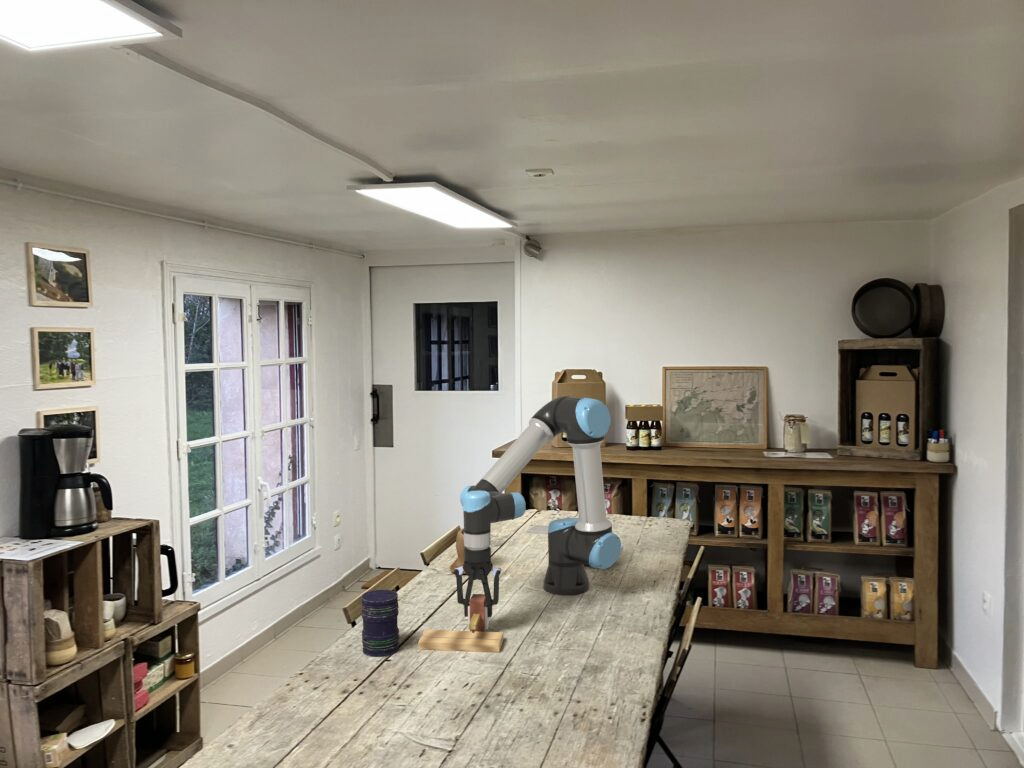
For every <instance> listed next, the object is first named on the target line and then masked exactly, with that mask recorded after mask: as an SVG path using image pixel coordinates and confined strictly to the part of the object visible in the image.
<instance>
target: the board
mask: <svg viewBox="0 0 1024 768" xmlns="http://www.w3.org/2000/svg"><path fill="white" fill-rule="evenodd" d="M503 642H504V632H503V631H501V632H500V631H498V632H497V631H485V632H477V631H475V633H472V631H470V630H469V631H468V630H445V629H444V630H442V629H425V630H424V631H423V634H422V635H421V636H420V638H419V640H418V641H417V649H418V650H421V651H422V650H424V651H445V652H446V651H450V652H451V651H453V652H475V653H477V652H479V653H500V652H501V648H502V645H503Z"/></svg>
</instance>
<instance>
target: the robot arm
mask: <svg viewBox="0 0 1024 768" xmlns="http://www.w3.org/2000/svg"><path fill="white" fill-rule="evenodd" d="M611 420H612V418H611V414H610V411H609V409H608V407H607V406H606V404H605V403H604V402H603V401H601V400H599V399H595V398H592V397H582V396H580V397H579V396H570V395H569V396H568V395H565V396H564V395H563V396H559V397H556V398H553V399H551V400H550V401H549V402H547V403H546V404H544V405H543V406H541V408H539V409H538V410H537V412H535V414H533V416H532V417H531V418H530V419H529V420H528V426H527V427H526V428H525V429H524V431H523V432H522V433H521V434H519V436H518V437H517V439H516V440H515V441H513V442H512V444H511V445H510V446H509V447H508V448H507V449H506V450H505V452H503V454H502V455H501V456H500V457H499V458H498V460H497V461H496V462H495V463H494V464H493V465H492V466H491V467H490V468H489V470H488V471H487V472H486V473H485V474H484V475H483V477H481V479H479V481H478V482H477V483H476V484H475V485H473V484H472V485H468V486H465V487H464V488H463V489H462V490H461V493H460V495H459V499H460V500H459V501H460V504H461V506H462V509H463V510H462V511H463V528H464V546H465V548H464V564H463V566H462V567H456V568H455V570H454V572H453V574H454V575H455V579H456V597H457V598H456V599H457V604H459V605H463V611H464V612H463V613H464V617H466V618H467V630H469V623H470V602H469V601H470V599H471V597H472V591H473V586H474V581H476V580H478V581H481V585H482V588H483V593H484V594H485V598H486V603H487V604H486V605H485V631H488V629H489V625H490V624H489V623H490V619H489V618H492V615H493V606H496V605H497V604H498V603H499V599H500V597H499V595H500V576H501V573H502V568H500V567H498V568H497V567H494V566H493V563H492V548H491V547H490V546H491V544H492V543H491V542H492V541H491V537H492V536H491V535H492V534H491V532H492V531H491V529H492V527H491V526H492V525H491V524H495V523H499V522H500V523H501V522H507V521H511V520H512V521H513V520H515V519H516V520H517V519H519V518H522V517H523V516H524V514H525V513H526V509H527V508H526V503H527V502H526V501H525V497H524V496H523V495H522V494H521V493H519V492H517V491H516V492H511V491H510V492H508V493H503V492H505V490H506V489H507V488H508V486H510V484H511V483H512V482H513V481H514V479H515V478H516V477H517V476H518V475H519V474H520V473H521V471H522V470H523V469H524V468H525V467H526V466H527V465H528V463H529V462H531V460H532V459H533V458H534V456H535V455H537V453H538V452H539V451H540V450H541V449H542V448H543V446H544V445H545V444H546V443H547V442H551V441H553V440H554V439H555V437H556V436H557V435H560V434H566V443H567V444H568V445H569V446H571V448H572V456H573V467H574V477H575V489H576V490H575V491H576V499H577V501H576V502H577V509H578V510H577V511H578V517H564V518H557V519H553V520H551V521H550V522H549V523H548V525H547V526H548V534H547V547H548V548H547V551H548V552H547V554H548V555H547V556H548V560H547V561H548V564H547V568H546V571H545V574H544V578H543V584H542V585H543V590H544V591H545V592H548V593H550V594H554V595H562V596H570V595H571V596H572V595H579V594H583V593H586V592H587V591H588V590H590V581H589V578H588V574H587V572H586V568H585V566H584V565H585V564H586V566H590V567H591V568H594V569H600V570H605V569H608V568H610V567H612V566H613V565H614V564H615V563H616V562H617V561H618V559H619V558H620V557H619V554H620V551H621V543H622V541H621V538H620V537H619V536H618V535H617V534H616V533H614V532H613V525H612V522H611V520H610V519H608V518H607V510H606V499H605V490H604V489H605V487H604V476H603V474H604V473H603V465H602V453H601V445H602V443H603V442H604V441H605V435H606V434H607V433H608V432H609V428H610V427H611V423H612V422H611ZM618 557H619V558H618ZM617 558H618V559H617ZM463 570H464V571H465V573H466V575H467V576H468V581H467V585H466V586H467V587H466V591H465V597H464V589H463V587H464V585H463ZM491 572H492V575H493V593H492V594H493V598H492V594H491V589H490V585H489V579H488V576H489V574H491Z"/></svg>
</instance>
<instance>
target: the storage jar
mask: <svg viewBox="0 0 1024 768" xmlns="http://www.w3.org/2000/svg"><path fill="white" fill-rule="evenodd" d="M398 598H399V595H398V592H397V591H395V590H390V589H376V590H375V589H374V590H371V591H370V590H369V591H367V592H364V593H363V594H362V595H361V607H360V609H361V614H360V615H361V618H362V632H361V642H362V647H363V648H362V653H363V655H365V656H367V657H372V658H384V657H389V656H393V655H395V654H396V653H398V652H399V650H400V647H399V643H400V629H399V627H398V624H399V623H398V616H399V599H398Z"/></svg>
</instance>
